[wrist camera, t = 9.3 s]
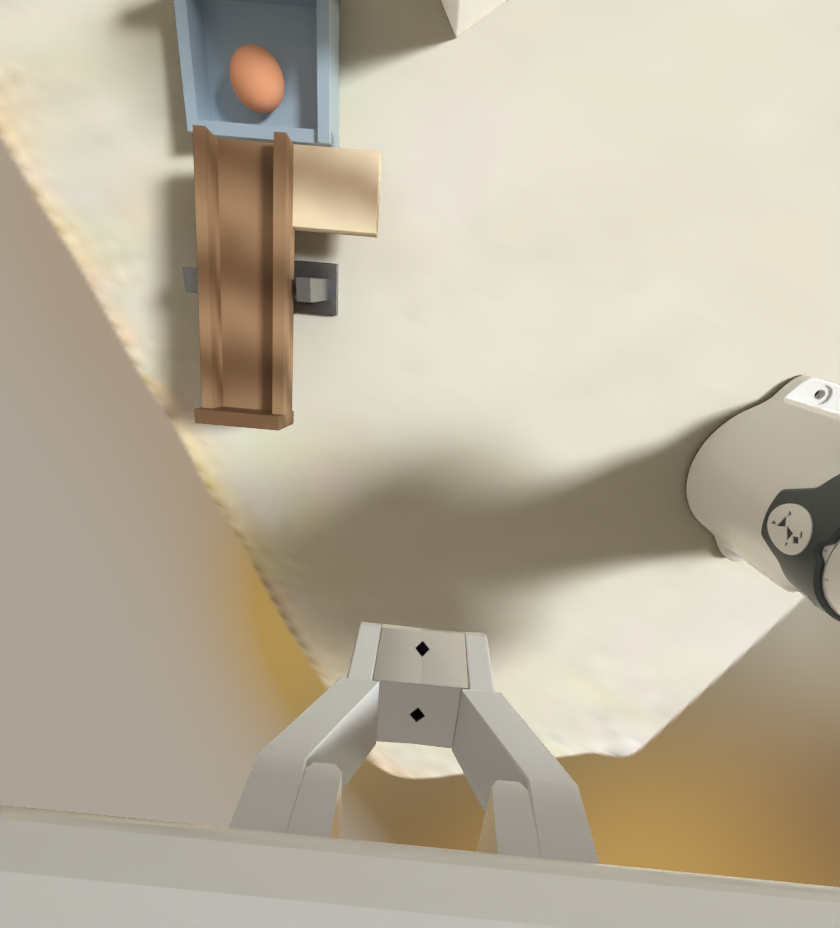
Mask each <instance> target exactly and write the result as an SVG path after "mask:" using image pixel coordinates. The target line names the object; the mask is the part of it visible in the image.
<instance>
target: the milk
mask: <svg viewBox="0 0 840 928" xmlns="http://www.w3.org/2000/svg"><path fill="white" fill-rule="evenodd" d="M506 1H508V0H441V2H442V4H443V7H444V9H445V12H446V14H447V17H448V19H449V22H450V24H451V27H452V29H453V32H454V34H455V36H456V37H458V36H459V35H461V34H462V33H463V32H465V31H466V30H468V29H469V28H470V27H472V26H473V25H475V24H476V23H477V22H479V21H480V20H481V19H483V18H484V17H486V16H487V15H488V14H490V13H491V12H492V11H494V10H495V9H497V8H498V7H499V6H501V5H502V4H503V3H505V2H506Z"/></svg>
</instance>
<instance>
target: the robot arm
mask: <svg viewBox="0 0 840 928" xmlns="http://www.w3.org/2000/svg"><path fill="white" fill-rule="evenodd" d="M818 390H819V392H818V394H817V395H816V396H815V397H814V395H815V393H816V392H817V391H818ZM686 490H687V499H688V503H689V506H690V509H691V511H692V513H693V514H694V516H695V517H696V519H697V520H698V521H699V522H700V523H701V524H702V525H703V526H704V527H705V528H707V529H708V530H709V531H710V532H711V533H712V534H713V535H714V536H715V539H716V542H717V545H718V548H719V550H720V552H721V553H722V554H723V555H724V556H725V557H727V558H728V559H729V560H731V561H746V562H747V563H749V564H750V565H751V566H753V567H754V568H755V569H757V570H758V571H760V572H761V573H762V574H764V575H765V576H766V577H768V578H769V579H770V580H772V581H773V582H774V583H776V584H777V585H779V586H780V587H781V588H783V589H785V590H787V591H789V592H796V591H798V592H800V593H801V594H802V595H804V596H805V598H806V599H807V600H809V601H810V602H811V603H812V604H814V605H815V606H817V607H818V608H820V609H821V610H822V611H825V612H826V613H828V614H829V615H830V616H832V617H833V618H835V619H836V620H838V621H840V384H837V383H834V382H831V381H827V380H824V379H821V378H818V377H814V376H811V375H801V376H799V377H796V378H795V379H793V380H792V381H790V382H789V383H788V384H786V385H785V386H784V387H783V388H781V389H780V390H779V391H778V392H777V393H776V394H775V395H774V396H773V397H771V398H770V399H768V400H767V401H765V402H763V403H761V404H759V405H757V406H754V407H752V408H750V409H748V410H745V411H744V412H742V413H740V414H738V415H736V416H734V417H733V418H731V419H730V420H728V421H727V422H726V423H724V424H723V425H722V426H720V427H719V428H718V429H717V430H716V431H715V432H714V433H713V434H712V435H711V436H710V437H709V438H708V439H707V440H706V441H705V443H704V444H703V445H702V447H701V448H700V450H699V451H698V453H697V454H696V456H695V458H694V460H693V462H692V465H691V467H690V470H689V474H688V478H687V487H686ZM376 741H382V742H398V743H413V744H421V745H429V746H437V747H445V748H452V751H453V753H454V755H455V757H456V759H457V761H458V763H459V764H460V766H461V768H462V770H463V772H464V774H465V776H466V778H467V780H468V781H469V783H470V785H471V787H472V789H473V791H474V793H475V795H476V796H477V798H478V800H479V802H480V804H481V806H482V808H483V810H484V812H485V813H486V814H485V819H484V823H483V827H482V831H481V835H480V840H479V844H478V849H477V852H473V851H462V850H451V849H441V848H431V847H422V846H411V845H401V844H391V843H381V842H370V841H359V840H350V839H341V791H342V789H343V788H344V787H345V786H346V784H347V783H348V782H349V780H350V779H351V777H352V776H353V775H354V773H355V772H356V770H357V769H358V768H359V766H360V765H361V764H362V762H363V760H364V759H365V758H366V757H367V755H368V754H369V753H370V751H371V750H372V748H373V747H374V746H375V744H376ZM0 928H840V887H829V886H820V885H810V884H800V883H790V882H779V881H769V880H759V879H749V878H738V877H728V876H718V875H708V874H698V873H688V872H677V871H667V870H657V869H646V868H637V867H626V866H616V865H606V864H599V861H598V857H597V853H596V850H595V846H594V842H593V839H592V835H591V832H590V828H589V824H588V820H587V817H586V813H585V810H584V806H583V802H582V799H581V795H580V791H579V788H578V785H577V784H576V783H575V782H574V781H573V779H572V778H571V777H570V776H569V774H568V773H567V772H566V771H565V770H564V768H563V767H562V766H561V765H560V764H559V762H558V761H557V760H556V759H555V758H554V756H553V755H552V754H551V753H550V751H549V750H548V749H547V748H546V747H545V745H544V744H543V743H542V742H541V741H540V739H539V738H538V737H537V736H536V734H535V733H534V732H533V731H532V730H531V728H530V727H529V726H528V725H527V724H526V722H525V721H524V720H523V719H522V718H521V716H520V715H519V714H518V713H517V711H516V710H515V709H514V708H513V707H512V705H511V704H510V703H509V702H508V701H507V699H506V698H505V697H504V696H503V694H502V693H499V692H494V684H493V677H492V670H491V662H490V655H489V648H488V641H487V636H486V634H485V633H479V632H466V631H464V632H463V631H452V630H440V629H428V628H417V627H408V626H400V625H391V624H383V625H382V624H378V623H370V622H361V624H360V626H359V630H358V634H357V638H356V642H355V647H354V651H353V655H352V659H351V663H350V668H349V672H348V676H347V678H340V679H339V680H337V681H336V682H335V683H334V684H333V685H332V686H331V687H330V688H329V689H328V690H327V691H326V692H324V693H323V694H322V695H321V696H320V697H319V698H318V699H317V700H316V701H315V702H314V703H313V704H311V705H310V706H309V707H308V708H307V709H306V710H305V711H304V712H303V713H302V714H301V715H300V716H299V717H297V718H296V720H294V721H293V722H292V723H291V724H290V725H289V726H288V727H287V728H286V729H284V730H283V731H282V732H281V733H280V734H279V735H278V736H277V737H276V738H275V739H274V740H272V741H271V742H270V743H269V744H268V745H267V746H266V747H265V748H264V749H263V750H262V751H261V752H259V753H258V754H257V757H256V760H255V762H254V765H253V767H252V770H251V772H250V775H249V777H248V780H247V782H246V785H245V787H244V790H243V792H242V795H241V798H240V800H239V802H238V805H237V808H236V810H235V813H234V815H233V818H232V820H231V823H230V825H229V828H227V827H217V826H207V825H196V824H187V823H177V822H166V821H156V820H145V819H136V818H126V817H116V816H106V815H94V814H85V813H75V812H65V811H55V810H45V809H35V808H25V807H14V806H4V805H0Z"/></svg>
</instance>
